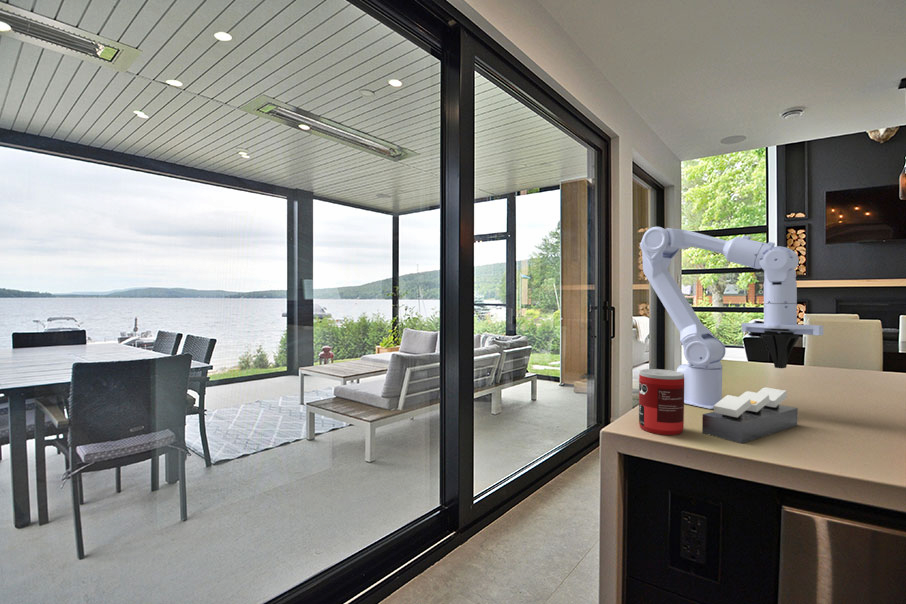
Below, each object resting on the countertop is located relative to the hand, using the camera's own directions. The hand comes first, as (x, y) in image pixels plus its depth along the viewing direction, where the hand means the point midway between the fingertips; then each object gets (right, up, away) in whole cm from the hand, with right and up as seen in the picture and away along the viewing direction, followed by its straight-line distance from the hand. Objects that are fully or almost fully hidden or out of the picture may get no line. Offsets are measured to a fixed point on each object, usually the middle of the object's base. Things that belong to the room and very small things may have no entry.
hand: (780, 367), depth 98 cm
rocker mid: (-12, -5, -9) cm, 16 cm away
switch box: (-9, -10, -7) cm, 16 cm away
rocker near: (-18, -5, -13) cm, 23 cm away
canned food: (-30, -11, -9) cm, 33 cm away
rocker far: (-6, -5, -6) cm, 10 cm away
